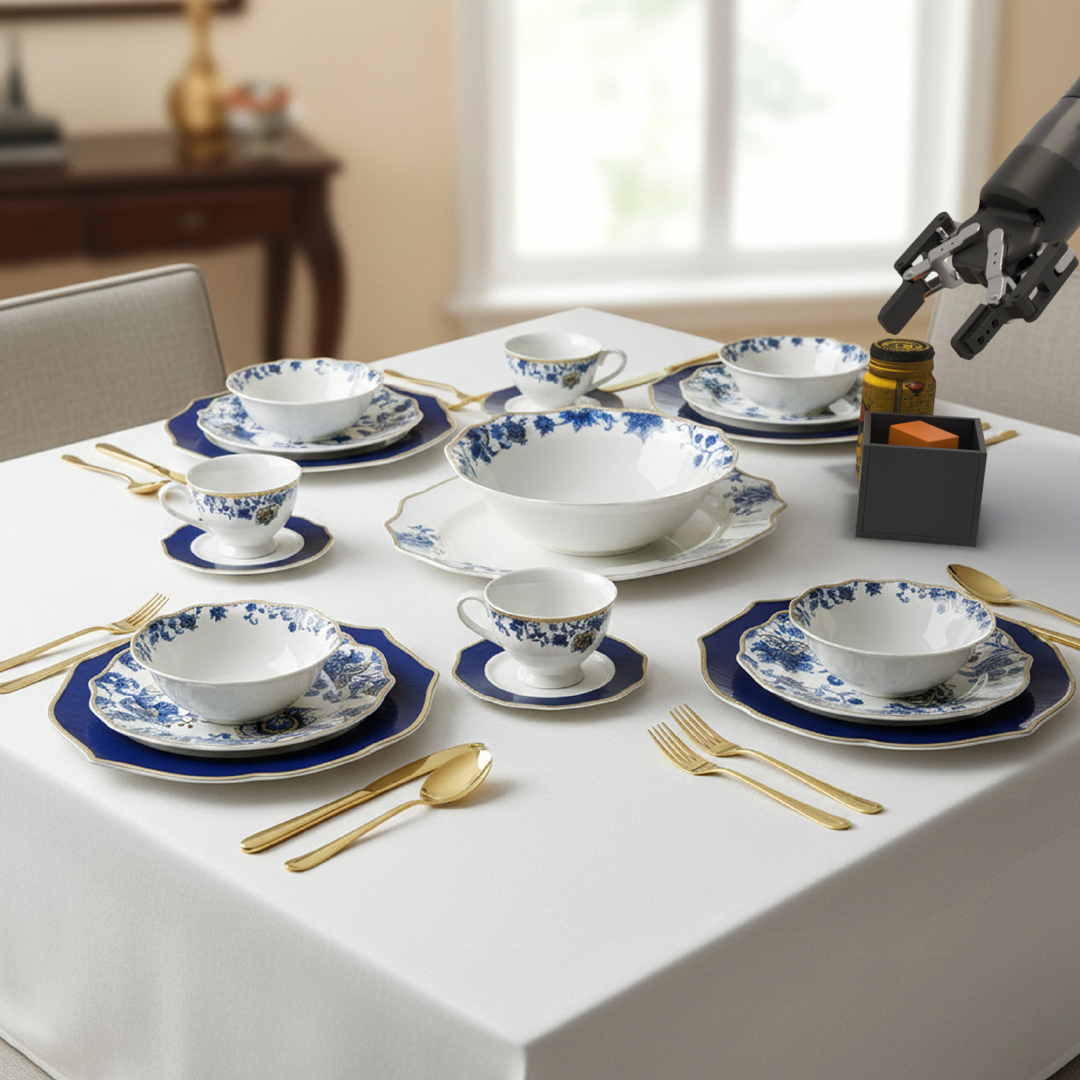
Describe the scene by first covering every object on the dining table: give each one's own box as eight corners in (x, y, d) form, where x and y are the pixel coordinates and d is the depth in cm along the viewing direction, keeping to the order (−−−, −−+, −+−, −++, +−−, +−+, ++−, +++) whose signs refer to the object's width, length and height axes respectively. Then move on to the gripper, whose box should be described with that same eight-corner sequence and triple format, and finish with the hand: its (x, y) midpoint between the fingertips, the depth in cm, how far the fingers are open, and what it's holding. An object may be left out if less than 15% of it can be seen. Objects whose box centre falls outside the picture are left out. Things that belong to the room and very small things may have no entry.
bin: (969, 509, 120) (980, 418, 117) (975, 550, 111) (987, 453, 108) (856, 500, 121) (865, 410, 118) (854, 540, 113) (863, 444, 110)
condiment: (835, 472, 128) (845, 337, 123) (919, 462, 130) (932, 330, 126) (879, 499, 122) (892, 359, 117) (966, 488, 124) (983, 350, 120)
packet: (911, 502, 119) (919, 420, 116) (949, 521, 115) (959, 436, 112) (881, 508, 117) (889, 425, 115) (919, 527, 114) (928, 441, 111)
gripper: (969, 131, 114) (837, 290, 114) (1106, 150, 102) (960, 328, 102) (1013, 196, 118) (886, 349, 118) (1151, 222, 106) (1010, 393, 106)
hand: (920, 339), depth 110 cm, fingers open, 8 cm apart
